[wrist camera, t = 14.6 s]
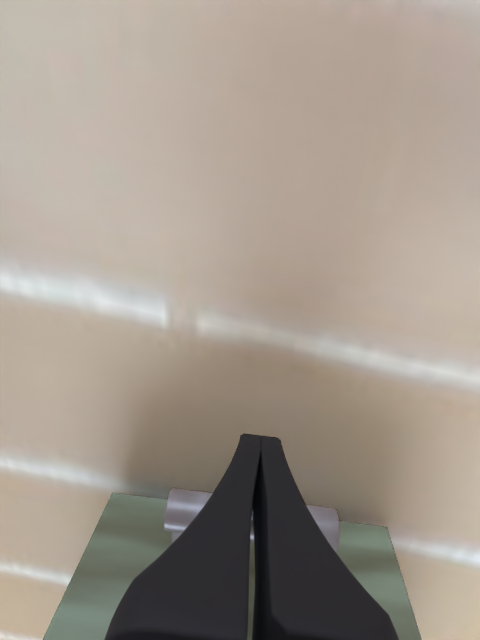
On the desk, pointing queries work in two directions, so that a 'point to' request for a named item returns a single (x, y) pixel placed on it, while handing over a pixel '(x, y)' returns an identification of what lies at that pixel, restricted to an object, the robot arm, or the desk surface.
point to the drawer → (168, 524)
